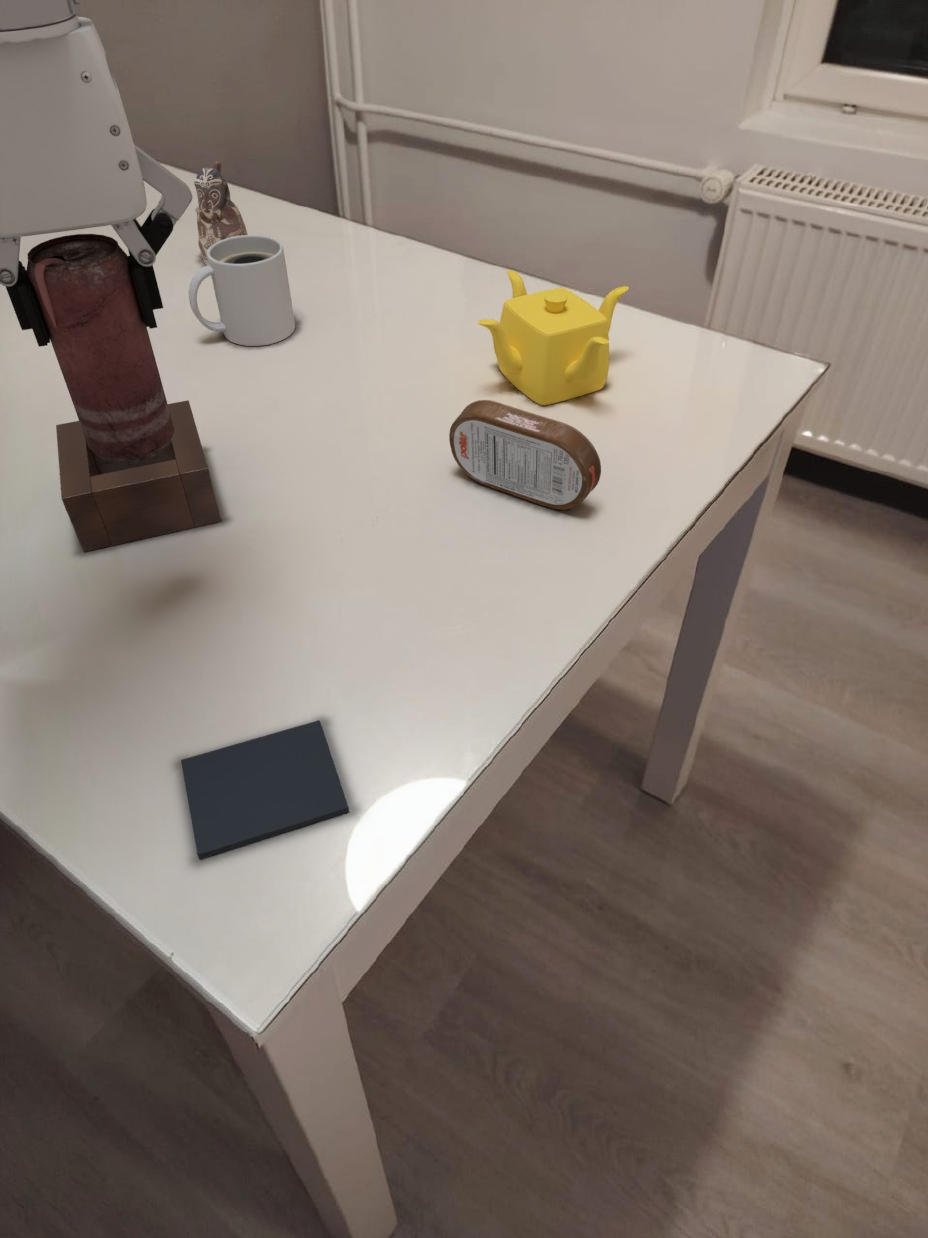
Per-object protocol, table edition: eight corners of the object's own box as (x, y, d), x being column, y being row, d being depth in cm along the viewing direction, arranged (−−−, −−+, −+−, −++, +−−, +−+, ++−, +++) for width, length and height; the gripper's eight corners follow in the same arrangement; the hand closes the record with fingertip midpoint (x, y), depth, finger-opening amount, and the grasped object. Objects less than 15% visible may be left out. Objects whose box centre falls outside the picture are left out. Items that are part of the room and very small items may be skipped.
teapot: (506, 340, 106) (508, 260, 99) (621, 355, 103) (631, 275, 96) (472, 400, 96) (473, 317, 89) (598, 419, 93) (609, 335, 86)
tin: (597, 507, 82) (607, 430, 76) (583, 525, 80) (592, 448, 74) (461, 461, 88) (460, 386, 82) (445, 477, 86) (443, 401, 80)
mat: (199, 859, 56) (197, 855, 56) (182, 764, 61) (180, 759, 61) (349, 812, 58) (348, 807, 58) (320, 724, 64) (319, 719, 63)
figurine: (191, 262, 123) (170, 171, 115) (219, 243, 128) (202, 155, 119) (233, 270, 121) (216, 178, 113) (261, 251, 126) (246, 161, 117)
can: (70, 460, 62) (-4, 263, 52) (119, 415, 66) (59, 225, 56) (146, 473, 61) (84, 274, 51) (191, 426, 65) (142, 234, 55)
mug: (302, 314, 111) (291, 235, 104) (284, 350, 104) (270, 268, 97) (220, 311, 112) (203, 232, 105) (197, 347, 105) (177, 264, 98)
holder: (83, 552, 78) (61, 498, 74) (76, 477, 86) (55, 424, 82) (221, 521, 81) (208, 468, 77) (202, 451, 89) (188, 399, 85)
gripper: (156, -25, 50) (218, 286, 62) (-184, -5, 45) (-43, 326, 57) (175, -2, 45) (239, 330, 57) (-206, 22, 40) (-46, 378, 52)
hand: (96, 325), depth 57 cm, fingers closed on can, 6 cm apart
